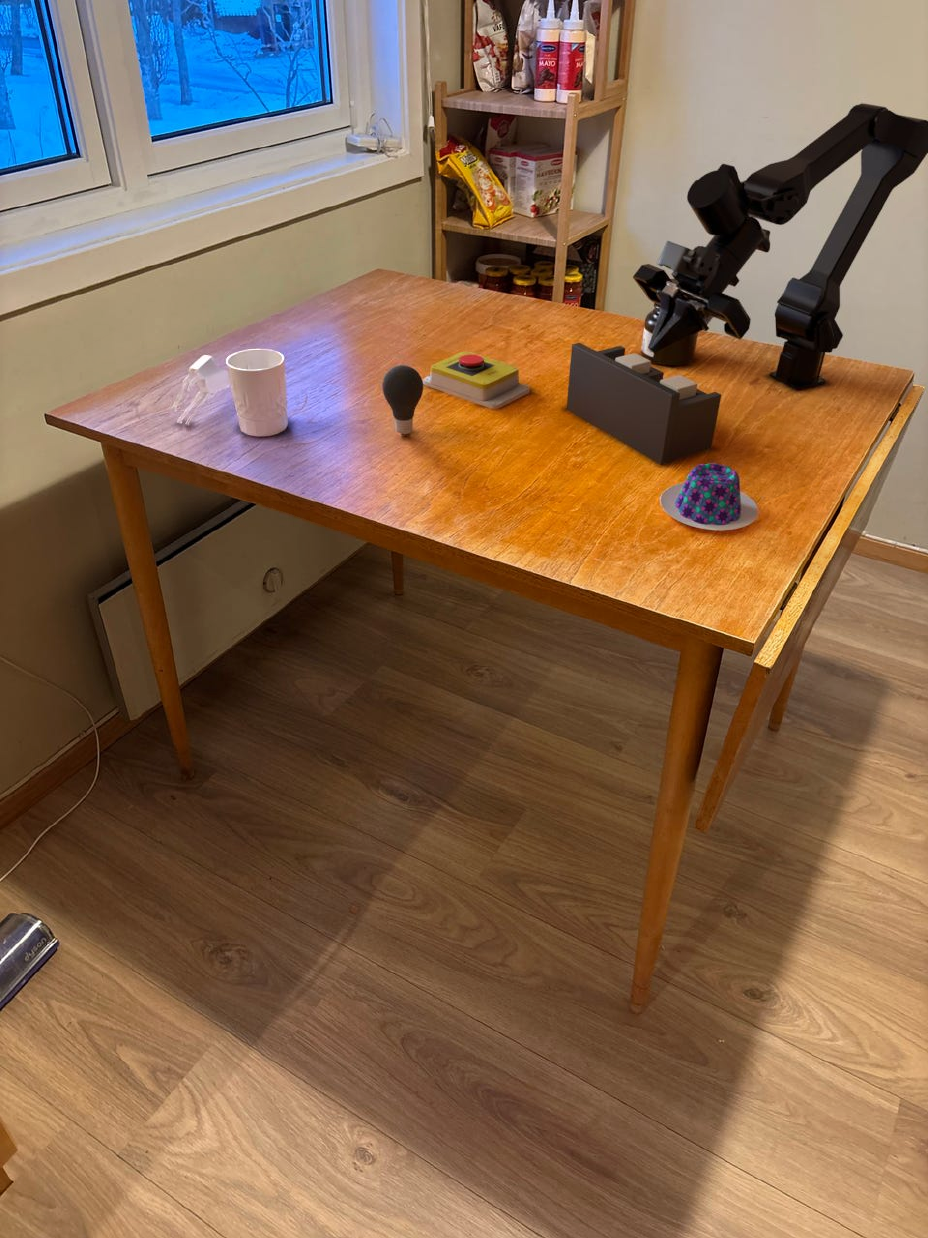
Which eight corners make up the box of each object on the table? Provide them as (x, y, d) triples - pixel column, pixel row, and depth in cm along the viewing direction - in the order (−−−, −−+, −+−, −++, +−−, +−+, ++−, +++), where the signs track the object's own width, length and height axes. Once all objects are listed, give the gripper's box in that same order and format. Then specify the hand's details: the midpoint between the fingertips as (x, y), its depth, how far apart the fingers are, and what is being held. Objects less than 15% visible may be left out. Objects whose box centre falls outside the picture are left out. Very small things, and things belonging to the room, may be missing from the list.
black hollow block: (614, 395, 142) (621, 332, 136) (711, 448, 128) (724, 380, 122) (566, 409, 138) (571, 344, 132) (661, 465, 124) (672, 395, 118)
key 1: (632, 365, 135) (634, 352, 134) (649, 373, 133) (651, 360, 132) (613, 370, 134) (615, 357, 133) (630, 378, 132) (632, 365, 130)
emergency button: (458, 340, 148) (533, 364, 141) (458, 366, 151) (532, 391, 143) (419, 356, 142) (496, 382, 135) (420, 383, 145) (495, 410, 137)
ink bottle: (647, 343, 160) (656, 273, 153) (698, 351, 158) (710, 279, 150) (634, 363, 153) (644, 290, 146) (687, 371, 150) (700, 297, 143)
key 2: (677, 387, 129) (679, 374, 128) (695, 396, 127) (697, 383, 126) (658, 393, 128) (660, 379, 126) (676, 402, 125) (678, 388, 124)
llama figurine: (205, 457, 137) (262, 373, 145) (174, 403, 127) (237, 316, 135) (195, 455, 137) (252, 371, 145) (163, 400, 128) (226, 314, 136)
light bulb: (394, 446, 128) (391, 377, 122) (378, 430, 132) (374, 362, 125) (430, 438, 130) (429, 370, 124) (413, 422, 134) (412, 355, 128)
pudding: (771, 534, 111) (780, 495, 107) (673, 537, 110) (680, 498, 107) (739, 485, 120) (747, 448, 117) (649, 487, 119) (654, 451, 116)
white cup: (301, 419, 134) (294, 353, 128) (275, 442, 128) (267, 373, 122) (253, 411, 136) (244, 345, 130) (225, 433, 130) (214, 365, 124)
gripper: (652, 202, 126) (580, 296, 128) (753, 235, 113) (671, 338, 115) (686, 253, 134) (618, 341, 136) (783, 289, 122) (707, 385, 124)
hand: (651, 350), depth 128 cm, fingers closed
